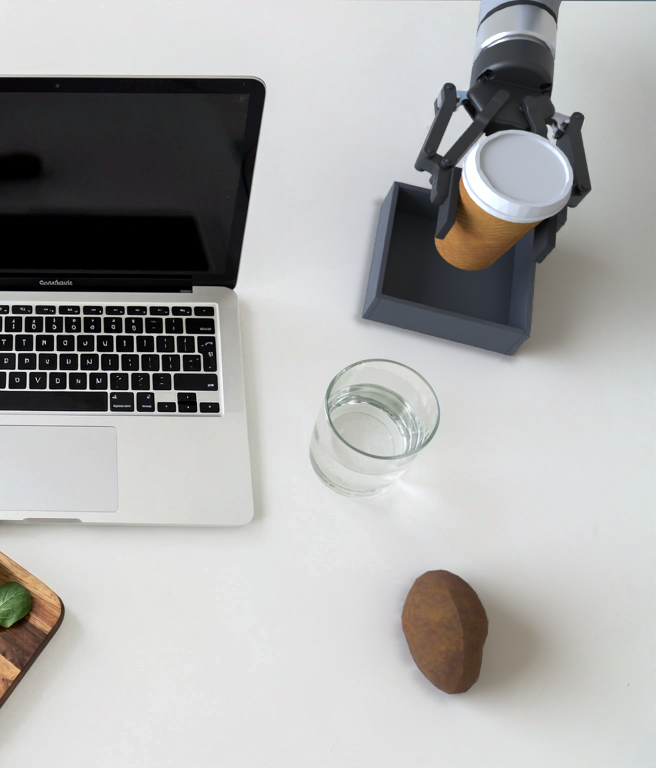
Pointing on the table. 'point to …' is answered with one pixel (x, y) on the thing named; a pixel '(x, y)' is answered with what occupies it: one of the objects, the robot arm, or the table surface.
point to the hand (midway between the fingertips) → (494, 242)
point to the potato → (445, 630)
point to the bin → (445, 280)
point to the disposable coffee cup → (504, 196)
